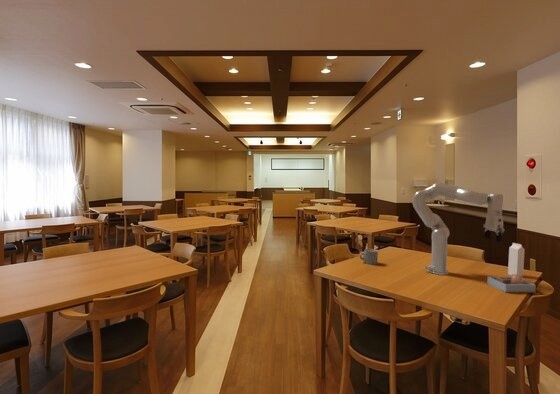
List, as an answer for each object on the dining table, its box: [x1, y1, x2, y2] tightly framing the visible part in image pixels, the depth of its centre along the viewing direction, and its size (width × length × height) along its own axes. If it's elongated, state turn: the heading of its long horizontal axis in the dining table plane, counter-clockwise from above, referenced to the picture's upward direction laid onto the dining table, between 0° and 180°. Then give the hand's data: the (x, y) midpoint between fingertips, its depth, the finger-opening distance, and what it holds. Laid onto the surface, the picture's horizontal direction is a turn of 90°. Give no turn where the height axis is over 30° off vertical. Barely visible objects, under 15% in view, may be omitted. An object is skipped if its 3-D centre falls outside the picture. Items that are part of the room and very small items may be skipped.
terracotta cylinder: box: [510, 274, 523, 284], centre depth 180 cm, size 5×5×7 cm
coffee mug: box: [359, 248, 379, 266], centre depth 233 cm, size 13×10×10 cm
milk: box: [507, 242, 525, 277], centre depth 205 cm, size 6×6×22 cm
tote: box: [486, 276, 537, 294], centre depth 180 cm, size 18×15×4 cm
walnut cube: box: [496, 278, 511, 284], centre depth 180 cm, size 5×5×5 cm
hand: (492, 239), depth 191 cm, fingers open, 9 cm apart
